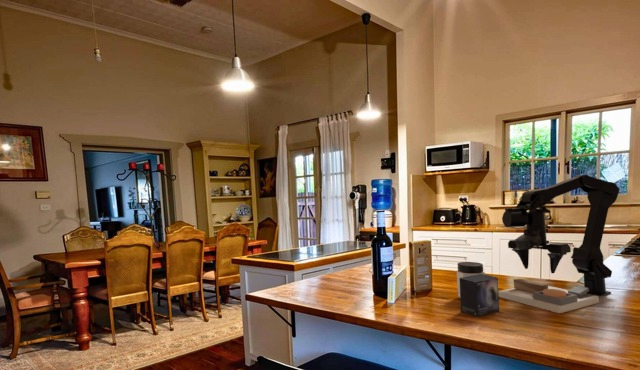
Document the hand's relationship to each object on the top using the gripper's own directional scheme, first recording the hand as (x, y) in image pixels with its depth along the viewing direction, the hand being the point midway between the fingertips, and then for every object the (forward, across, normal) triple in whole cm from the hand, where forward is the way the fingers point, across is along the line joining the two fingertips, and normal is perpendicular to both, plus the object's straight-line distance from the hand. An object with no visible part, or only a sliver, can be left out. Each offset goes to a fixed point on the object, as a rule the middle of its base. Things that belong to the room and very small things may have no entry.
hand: (539, 270), depth 116 cm
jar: (+9, -10, -22) cm, 26 cm away
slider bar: (+6, 0, -5) cm, 8 cm away
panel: (+8, +4, -3) cm, 10 cm away
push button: (+6, +10, -8) cm, 14 cm away
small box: (+9, +1, -31) cm, 32 cm away
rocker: (+5, +10, +3) cm, 12 cm away
